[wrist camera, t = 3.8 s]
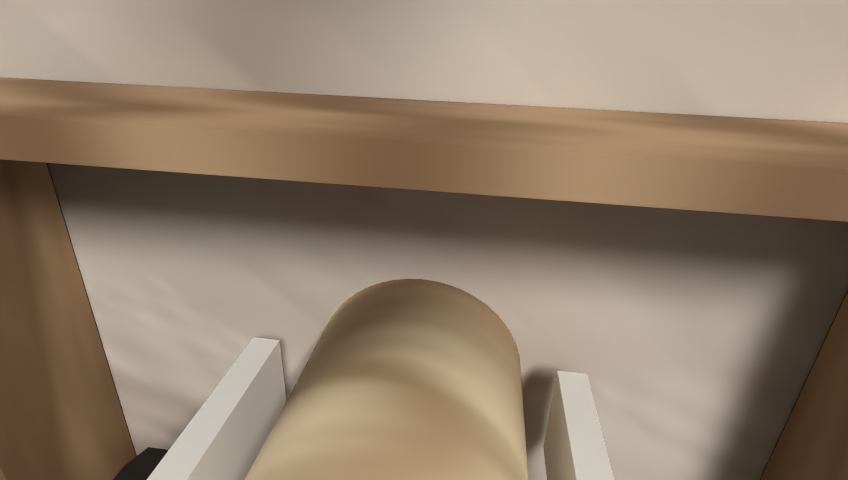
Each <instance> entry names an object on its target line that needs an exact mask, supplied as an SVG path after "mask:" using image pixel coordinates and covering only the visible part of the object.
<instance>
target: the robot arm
mask: <svg viewBox="0 0 848 480" xmlns="http://www.w3.org/2000/svg"><path fill="white" fill-rule="evenodd" d="M286 402H287V401H286V392H285V383H284V375H283V366H282V357H281V349H280V340H275V339H265V338H256V337H253V339H252V340H251V341H250V343H249V344H248V345H247V347H246V348H245V349H244V351H243V352H242V353H241V355H240V356H239V357H238V359H237V360H236V361H235V363H234V364H233V365H232V367H231V368H230V369H229V371H228V372H227V373H226V375H225V376H224V377H223V379H222V380H221V381H220V383H219V384H218V385H217V387H216V388H215V389H214V391H213V392H212V393H211V395H210V396H209V397H208V399H207V400H206V401H205V403H204V404H203V405H202V407H201V408H200V409H199V411H198V412H197V413H196V415H195V416H194V417H193V419H192V420H191V421H190V423H189V424H188V425H187V427H186V428H185V429H184V431H183V432H182V433H181V435H180V436H179V437H178V439H177V440H176V441H175V443H174V444H173V445H172V447H171V448H170V449H169V450H164V449H157V448H149V447H148V448H147V449H146V450H144V451H143V452H142V453H140V454H139V455H138V456H136V457H135V458H134V459H132V460H131V461H130V462H128V463H127V464H125V465H124V467H123V468H122V469H121V470H120V472H119V473H118V474H117V475H116V476H115V478H114V479H113V480H245V478H246V476H247V474H248V472H249V470H250V468H251V467H252V465H253V463H254V461H255V459H256V457H257V455H258V454H259V452H260V450H261V448H262V446H263V444H264V442H265V441H266V439H267V437H268V435H269V433H270V431H271V430H272V428H273V426H274V424H275V422H276V420H277V418H278V417H279V415H280V413H281V411H282V409H283V407H284V405H285V404H286ZM543 447H544V456H545V465H546V474H547V480H614V477H613V473H612V469H611V465H610V462H609V458H608V454H607V450H606V446H605V442H604V438H603V434H602V430H601V426H600V422H599V419H598V415H597V411H596V407H595V403H594V399H593V395H592V391H591V387H590V383H589V379H588V375H587V374H583V373H574V372H565V371H557V376H556V381H555V387H554V392H553V397H552V403H551V408H550V413H549V419H548V424H547V430H546V435H545V440H544V446H543Z"/></svg>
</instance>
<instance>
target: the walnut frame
mask: <svg viewBox="0 0 848 480" xmlns="http://www.w3.org/2000/svg"><path fill="white" fill-rule="evenodd" d="M47 163H58V164H71V165H85V166H98V167H112V168H126V169H139V170H153V171H166V172H180V173H193V174H207V175H221V176H234V177H248V178H261V179H275V180H289V181H302V182H316V183H329V184H343V185H356V186H370V187H384V188H397V189H411V190H424V191H438V192H451V193H465V194H479V195H492V196H506V197H519V198H533V199H547V200H560V201H574V202H587V203H601V204H614V205H628V206H642V207H655V208H669V209H682V210H696V211H709V212H723V213H737V214H750V215H764V216H777V217H791V218H805V219H818V220H832V221H845V222H848V123H834V122H815V121H797V120H778V119H760V118H741V117H723V116H704V115H685V114H667V113H648V112H630V111H611V110H592V109H574V108H555V107H537V106H518V105H499V104H481V103H462V102H444V101H425V100H407V99H388V98H369V97H351V96H332V95H314V94H295V93H276V92H258V91H239V90H221V89H202V88H183V87H165V86H146V85H128V84H109V83H90V82H72V81H53V80H35V79H16V78H0V480H113V479H114V478H115V476H116V475H117V474H118V473H119V472H120V470H121V469H122V468H123V467H124V465H125V464H127V463H128V462H130V461H131V460H132V459H134V458H135V457H136V455H135V451H134V448H133V445H132V442H131V438H130V435H129V432H128V428H127V425H126V422H125V419H124V415H123V412H122V409H121V406H120V402H119V399H118V396H117V392H116V389H115V386H114V383H113V379H112V376H111V373H110V370H109V366H108V363H107V360H106V356H105V353H104V350H103V347H102V343H101V340H100V337H99V334H98V330H97V327H96V324H95V320H94V317H93V314H92V311H91V307H90V304H89V301H88V298H87V294H86V291H85V288H84V284H83V281H82V278H81V275H80V271H79V268H78V265H77V262H76V258H75V255H74V252H73V248H72V245H71V242H70V239H69V235H68V232H67V229H66V226H65V222H64V219H63V216H62V212H61V209H60V206H59V203H58V199H57V196H56V193H55V190H54V186H53V183H52V180H51V176H50V173H49V170H48V167H47ZM761 480H848V292H847V294H846V296H845V298H844V301H843V303H842V305H841V307H840V309H839V311H838V314H837V316H836V318H835V320H834V322H833V324H832V326H831V329H830V331H829V333H828V335H827V337H826V339H825V342H824V344H823V346H822V348H821V350H820V352H819V355H818V357H817V359H816V361H815V363H814V365H813V367H812V370H811V372H810V374H809V376H808V378H807V380H806V383H805V385H804V387H803V389H802V391H801V393H800V395H799V398H798V400H797V402H796V404H795V406H794V408H793V411H792V413H791V415H790V417H789V419H788V421H787V423H786V426H785V428H784V430H783V432H782V434H781V436H780V439H779V441H778V443H777V445H776V447H775V449H774V451H773V454H772V456H771V458H770V460H769V462H768V464H767V467H766V469H765V471H764V473H763V475H762V477H761Z"/></svg>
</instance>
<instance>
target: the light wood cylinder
mask: <svg viewBox="0 0 848 480" xmlns="http://www.w3.org/2000/svg"><path fill="white" fill-rule="evenodd" d="M245 480H528V467H527V452H526V438H525V424H524V410H523V396H522V382H521V368H520V358H519V353H518V349H517V346H516V343H515V341H514V339H513V337H512V334H511V333H510V331H509V330H508V328H507V326H506V325H505V323H504V322H503V321H502V320H501V319H500V317H499V316H498V315H497V314H496V313H495V312H494V311H493V310H492V309H490V308H489V307H488V306H487V305H486V304H484V303H483V302H482V301H480V300H479V299H477V298H476V297H474V296H472V295H470V294H469V293H467V292H465V291H463V290H460V289H458V288H455V287H453V286H450V285H447V284H443V283H439V282H435V281H429V280H422V279H401V280H392V281H387V282H382V283H379V284H376V285H373V286H370V287H368V288H366V289H364V290H362V291H360V292H358V293H356V294H355V295H353V296H352V297H351V298H349V299H348V300H347V301H346V302H345V303H343V304H342V305H341V306H340V307H339V309H338V310H337V311H336V312H335V314H334V315H333V317H332V318H331V320H330V322H329V324H328V326H327V328H326V329H325V331H324V333H323V335H322V337H321V339H320V341H319V342H318V344H317V346H316V348H315V350H314V352H313V354H312V355H311V357H310V359H309V361H308V363H307V365H306V367H305V368H304V370H303V372H302V374H301V376H300V378H299V379H298V381H297V383H296V385H295V387H294V389H293V391H292V392H291V394H290V396H289V398H288V400H287V402H286V404H285V405H284V407H283V409H282V411H281V413H280V415H279V417H278V418H277V420H276V422H275V424H274V426H273V428H272V430H271V431H270V433H269V435H268V437H267V439H266V441H265V442H264V444H263V446H262V448H261V450H260V452H259V454H258V455H257V457H256V459H255V461H254V463H253V465H252V467H251V468H250V470H249V472H248V474H247V476H246V478H245Z"/></svg>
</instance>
